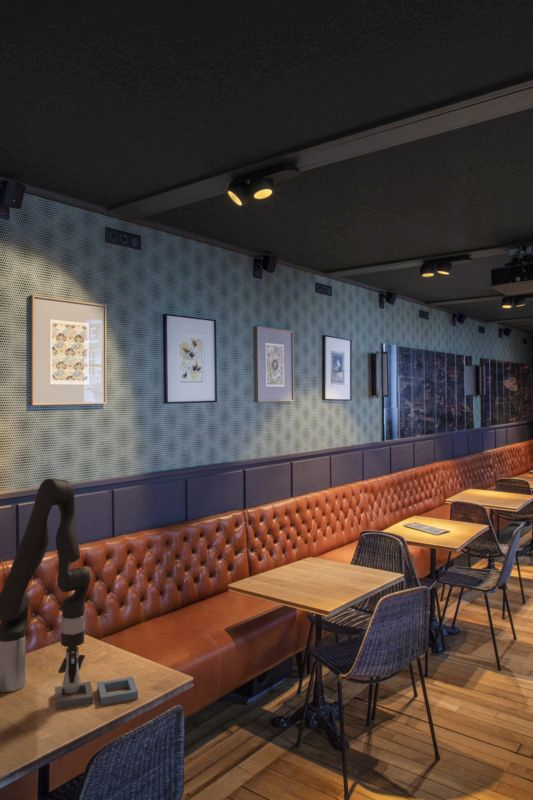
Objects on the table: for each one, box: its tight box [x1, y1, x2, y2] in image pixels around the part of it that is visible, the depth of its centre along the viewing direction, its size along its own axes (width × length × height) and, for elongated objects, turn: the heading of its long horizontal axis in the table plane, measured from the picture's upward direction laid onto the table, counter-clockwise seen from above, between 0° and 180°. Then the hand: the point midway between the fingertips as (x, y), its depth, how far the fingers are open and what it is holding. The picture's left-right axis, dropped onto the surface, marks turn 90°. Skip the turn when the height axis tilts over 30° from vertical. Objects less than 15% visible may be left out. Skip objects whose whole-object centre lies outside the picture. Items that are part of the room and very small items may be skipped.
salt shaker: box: [61, 654, 82, 695], centre depth 194 cm, size 6×6×13 cm
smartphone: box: [57, 654, 86, 674], centre depth 223 cm, size 8×1×15 cm
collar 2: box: [96, 676, 139, 706], centre depth 198 cm, size 12×12×2 cm
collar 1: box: [54, 681, 94, 711], centre depth 195 cm, size 12×12×2 cm
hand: (71, 681), depth 194 cm, fingers closed on salt shaker, 3 cm apart
